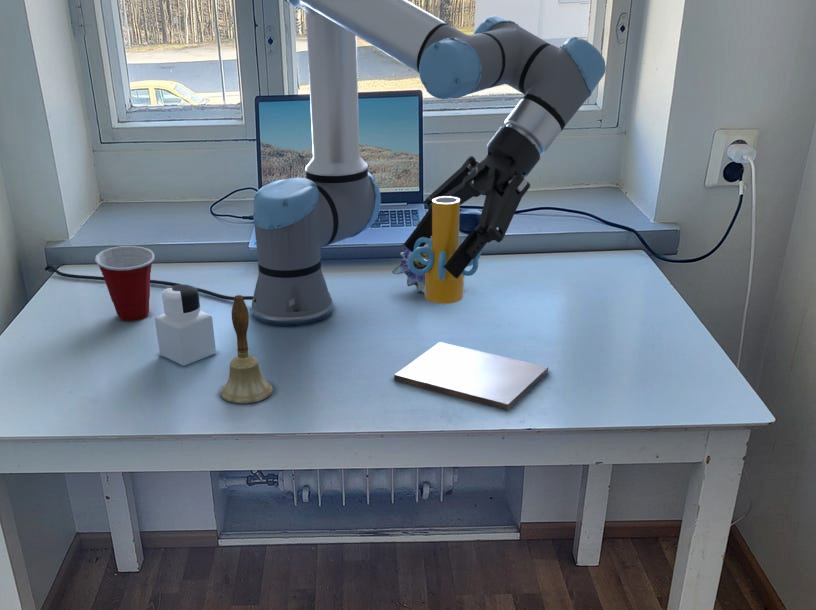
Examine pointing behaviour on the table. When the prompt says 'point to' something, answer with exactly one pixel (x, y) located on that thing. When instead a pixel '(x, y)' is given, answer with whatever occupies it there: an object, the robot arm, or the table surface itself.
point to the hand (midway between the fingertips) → (429, 261)
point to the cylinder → (442, 253)
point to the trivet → (472, 375)
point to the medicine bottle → (184, 326)
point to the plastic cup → (127, 279)
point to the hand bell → (244, 364)
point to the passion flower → (404, 268)
